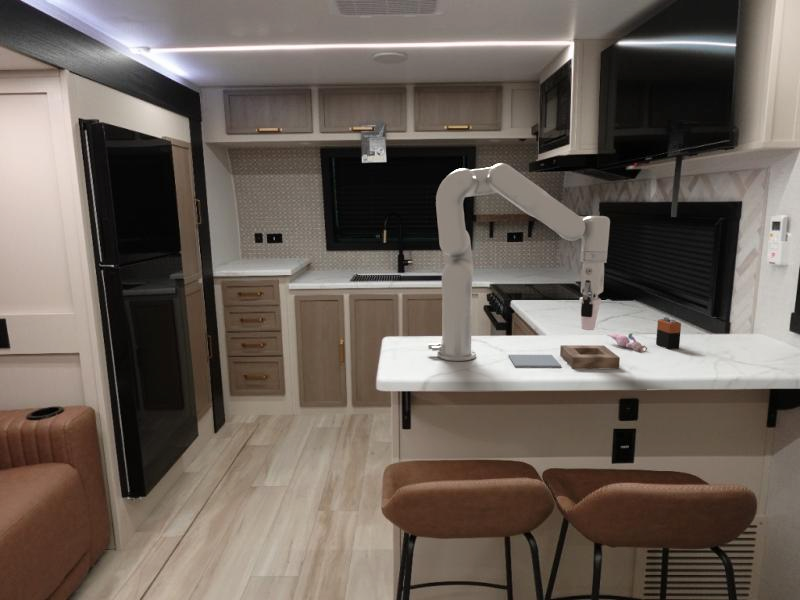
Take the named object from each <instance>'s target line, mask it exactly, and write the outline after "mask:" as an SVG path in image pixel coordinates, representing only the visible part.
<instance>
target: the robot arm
mask: <svg viewBox="0 0 800 600" xmlns="http://www.w3.org/2000/svg"><path fill="white" fill-rule="evenodd" d="M436 191H437V192H436V195H435V200H436V201H435V207H436V210H435V211H436V218H437V221H436V222H437V229H438V241H439V242H438V243H439V248H440V249H441V251H442V253H443V254H442V255H443V262H444V268H443V270H442V273H441V293H442V295H441V296H442V297H441V298H442V299H441V301H442V302H441V305H442V307H441V308H442V311H441V312H442V313H441V314H442V316H441V317H442V320H441V321H442V322H441V324H442V325H441V327H442V329H441V330H442V331H441V332H442V333H441V337H442V338H441V340H440V342H437V343H428V347H427V349H428V350H431V351H434V352H435V351H436V352H437V357H438V358H439V359H442V360H445V361H450V362H451V361H453V362H465V361H470V360H473V359H475V358H476V357H477V353H476V352H475V350H472V323H473V322H472V320H473V319H472V318H473V315H472V313H473V312H472V311H473V277H474V272H475V270H474V262H473V252H472V244H471V243H472V242H471V237H470V234H469V232H468V231H467V230H466V229H467V228H466V221H465V212H464V201H465V198H468V197H475V196H476V197H478V196H482V195H483V196H485V195H491V194H496V193H497V194H499V196H502V197H503V198H504V199H506V200H507V201H509V203H511V204H513V205H514V206H515V207H517V208H518V209H519V210H521V211H522V212H524V213H526V214H527V215H528V216H531V217H533V218H535V219H536V220H537V221H540V222H541V223H542V224H544V225H545V226H547V227H548V228H549V229H551V230H552V231H554V232H555V233H556V234H558V235H559V237H561V238H562V239H564V240H566V241H571V242H572V241H578V240H579V239H582V240H581V246H580V247H581V250H580V262H582V263H583V264H582V271H581V272H582V273H581V278H580V279H581V281H580V293H581V294H582V297H583V299H582V307H581V306H580V317H581V316H583V317H592V311H593V304H592V300H593V297H596V298H599V295H600V294H602V293H603V292H604V283H605V282H604V280H605V278H604V277H605V264H606V263H608V262H607V259H608V251H609V250H608V249H609V248H608V247H609V240H610V225H611V219H610V218H609V217H608V216H604V215H588V216H581V215H578V214H577V213H575V211H573V210H572V209H570V208H569V207H567V206H566V205H564V203H561V202H560V201H559V200H558V199H556V198H554V197H553V196H551V195H550V194H549V193H548V192H547V191H546V190H544V189H543V188H542V187H540V186H538V185H537V184H536V183H534V182H533V181H531V180H530V179H528V177H526V176H524V175H523V174H522V173H520V171H517V170H516V169H515V168H513V167H512V165H509V164H507V163H505V162H504V163H503V162H500V163H495V164H494V165H493V166H490V167H484V168H474V169H469V168H465V167H464V168H463V167H462V168H458V169H455V170H454V171H452V172H450V173H449V174H448V175H446V177H445V178H444V179H442V181H441V183H440V184H439V187H438V189H437V190H436ZM591 293H592V294H591Z"/></svg>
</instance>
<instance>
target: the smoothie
mask: <svg viewBox="0 0 800 600" xmlns="http://www.w3.org/2000/svg"><path fill="white" fill-rule="evenodd" d="M591 294H592V293H591ZM582 299H583V296H581V297H579V299H578V300H579V301H578V302H579V303H580V308H581V307H582ZM601 303H602V299H601V298H600V297H598V298H596V297H593V300H592V304H593V311H592V317H583V316H581V315H580V320H581V321H580V322H581V323H580V325H581V329H582V330H584V331H594V330H595V328H596V327H595V326H596V322H597V318H598V313H599V310H600V305H601Z"/></svg>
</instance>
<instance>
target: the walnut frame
mask: <svg viewBox="0 0 800 600" xmlns="http://www.w3.org/2000/svg"><path fill="white" fill-rule="evenodd" d="M559 353H560V354H559V356H560V357H561V358H562V359H563V361H564V362H567V363H566V364H567V365H568V366H569V367H570V368H571V369H572V370H573V369H575V370H577V369H578V368H580V369H581V368H589V369H590V368H591V370H592V369H593V368H619V369H620V362H621V360H620V358H621V357H620V356H618V355H617V353H616V354H615V353H614V352H613V351H612V350H611V349H609V348H608V347H606V346H605V345H598V344H597V345H582V344H580V345H579V344H578V345H575V344H574V345H572V344H571V345H570V344H569V345H567V344H566V345H565V344H564V345H560V352H559ZM581 370H582V369H581Z"/></svg>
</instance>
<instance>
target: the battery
mask: <svg viewBox="0 0 800 600" xmlns="http://www.w3.org/2000/svg"><path fill="white" fill-rule="evenodd" d="M681 330H682V322H679V321H677V319H671V318H670V317H668V316H663V317H662V318H661V319H658V320H657V327H656V337H655V338H656V341H655V344H656V345H657V346H659V347H661V348H664V347H665V349H667V350H676V349H680V343H681V342H680V341H681Z"/></svg>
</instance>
